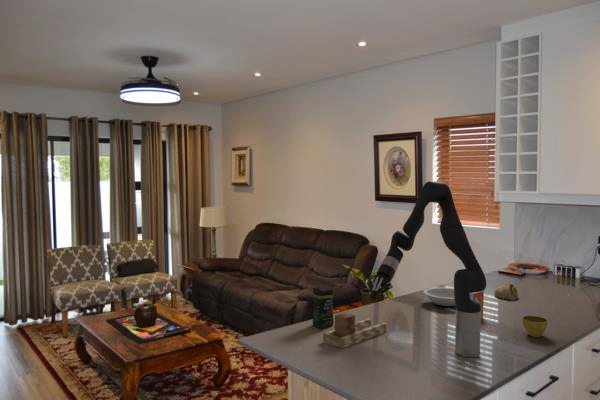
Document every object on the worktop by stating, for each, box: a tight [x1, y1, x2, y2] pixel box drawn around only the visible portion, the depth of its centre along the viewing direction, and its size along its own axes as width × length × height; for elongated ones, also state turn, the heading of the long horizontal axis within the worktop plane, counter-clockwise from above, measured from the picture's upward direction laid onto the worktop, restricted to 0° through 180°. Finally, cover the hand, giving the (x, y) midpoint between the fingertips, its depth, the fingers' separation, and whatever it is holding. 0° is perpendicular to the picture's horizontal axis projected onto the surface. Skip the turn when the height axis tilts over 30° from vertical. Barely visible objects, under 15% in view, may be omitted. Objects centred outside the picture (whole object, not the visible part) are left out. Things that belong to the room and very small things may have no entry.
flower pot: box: [521, 315, 549, 338], centre depth 205 cm, size 10×10×7 cm
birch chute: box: [322, 318, 387, 349], centre depth 204 cm, size 30×10×4 cm, turn 133°
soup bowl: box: [423, 287, 456, 307], centre depth 254 cm, size 24×24×7 cm
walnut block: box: [334, 312, 356, 338], centre depth 199 cm, size 6×6×10 cm
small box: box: [470, 290, 485, 318], centre depth 232 cm, size 8×6×13 cm
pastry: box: [494, 283, 519, 301], centre depth 270 cm, size 14×12×8 cm
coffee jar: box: [312, 284, 335, 329], centre depth 219 cm, size 10×8×19 cm
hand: (371, 299), depth 209 cm, fingers closed
